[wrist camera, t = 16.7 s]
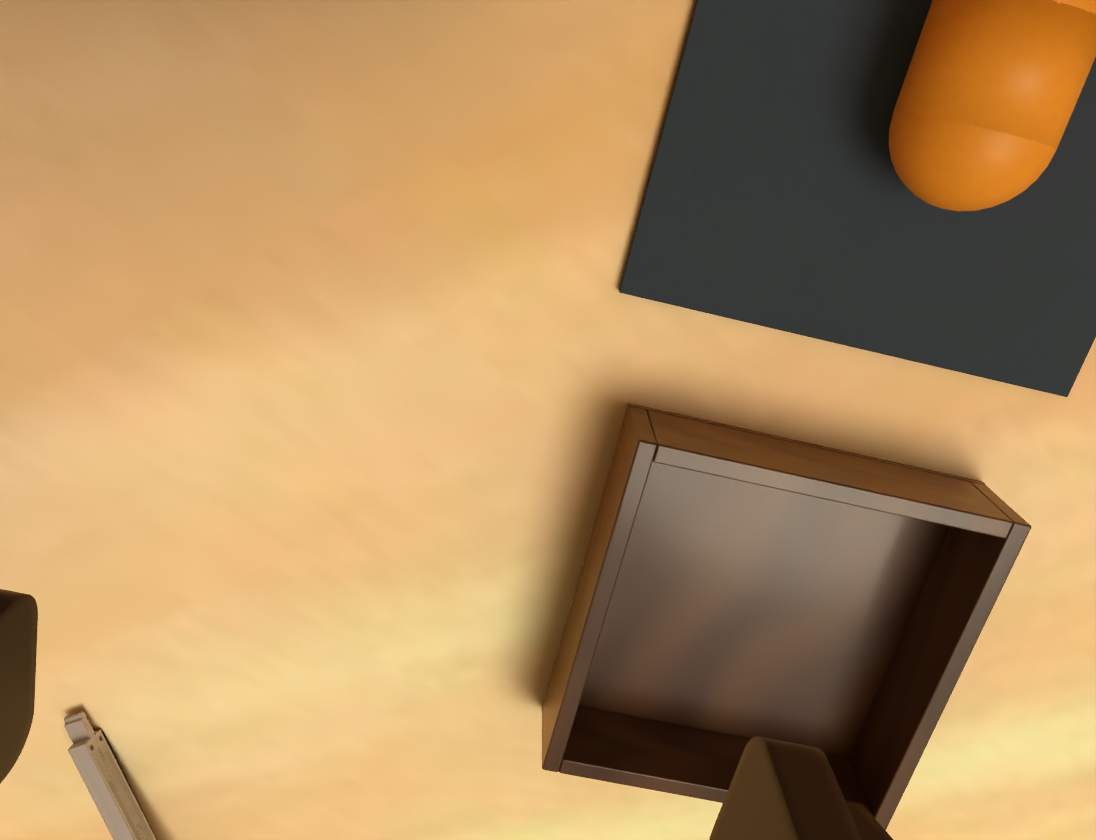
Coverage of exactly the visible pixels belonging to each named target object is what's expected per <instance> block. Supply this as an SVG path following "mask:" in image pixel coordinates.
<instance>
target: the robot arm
mask: <svg viewBox="0 0 1096 840" xmlns="http://www.w3.org/2000/svg"><path fill="white" fill-rule="evenodd" d="M37 620H38V609H37V604H36V601H35V599H34V598H33V596H31V595H28V594H23V593H18V592H13V591H7V590H2V589H0V783H1V782H2V781H3V780H4V778H5V777H6V776H7V774H8V773H9V772H10V770H11V769H12V767H13V766H14V764H15V762H16V761H17V759H18V757H19V755H20V753H21V751H22V749H23V747H24V745H25V742H26V739H27V737H28V734H29V731H30V727H31V723H32V719H33V714H34V698H35V672H36V646H37ZM709 840H893V839H892V838H891V837H890V835H889V834H888V833H887V832H886V831H885V830H884V829H883V827H882V826H881V825H880V824H879V823H878V822H877V820H876V819H875V818H874V817H873V816H872V815H871V813H870V812H869V811H868V810H867V809H866V808H865V807H864V805H863V804H861V803H856V802H850V801H845V799H844V796H843V794H842V792H841V789H840V787H839V785H838V782H837V780H836V777H835V775H834V773H833V770H832V768H831V766H830V763H829V761H828V759H827V757H826V755H825V754H824V752H823V751H822V750H821V749H819V748H816V747H811V746H806V745H801V744H795V743H790V742H785V741H780V740H774V739H769V738H764V737H759V736H756V737H753V738H752V739H751V740H750V741H749V742H748V743H747V745H746V747H745V749H744V751H743V754H742V756H741V759H740V761H739V764H738V766H737V769H736V771H735V774H734V777H733V779H732V782H731V784H730V787H729V789H728V792H727V794H726V797H725V800H724V802H723V805H722V807H721V810H720V812H719V815H718V817H717V820H716V823H715V825H714V828H713V830H712V833H711V836H710V839H709Z"/></svg>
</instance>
